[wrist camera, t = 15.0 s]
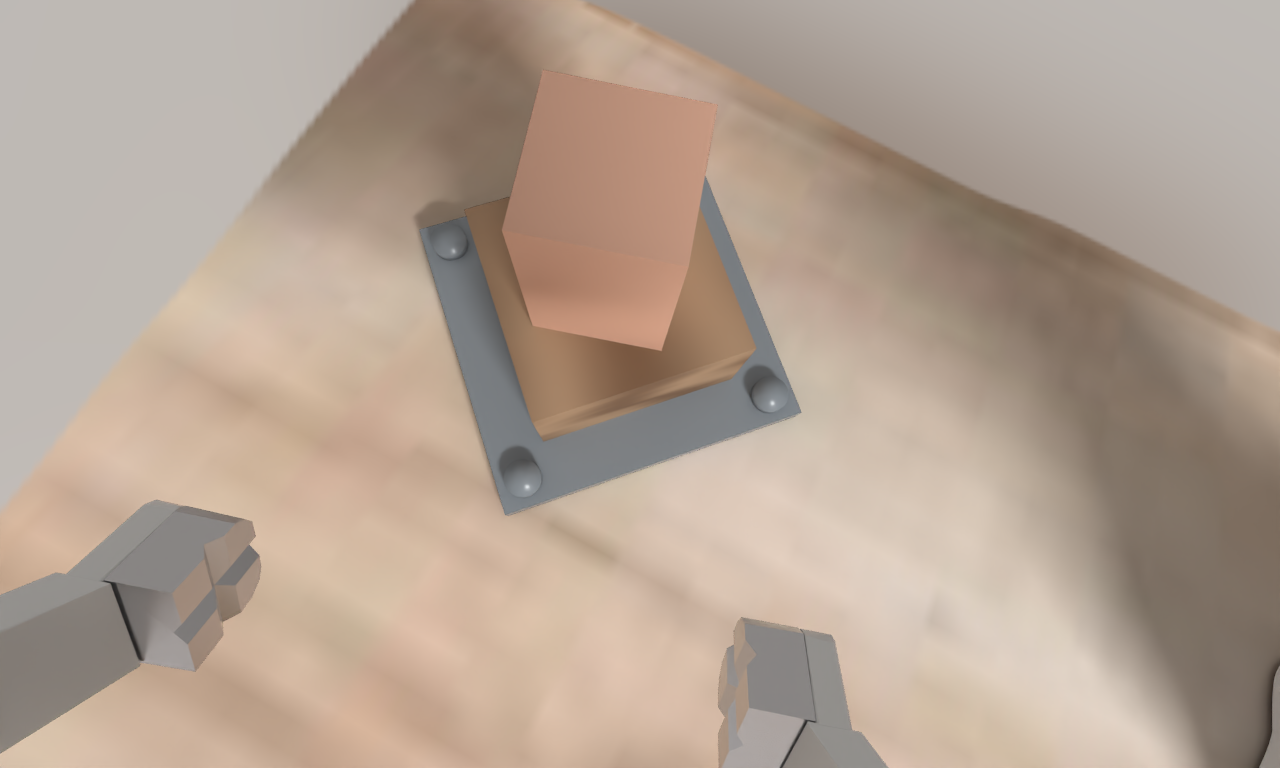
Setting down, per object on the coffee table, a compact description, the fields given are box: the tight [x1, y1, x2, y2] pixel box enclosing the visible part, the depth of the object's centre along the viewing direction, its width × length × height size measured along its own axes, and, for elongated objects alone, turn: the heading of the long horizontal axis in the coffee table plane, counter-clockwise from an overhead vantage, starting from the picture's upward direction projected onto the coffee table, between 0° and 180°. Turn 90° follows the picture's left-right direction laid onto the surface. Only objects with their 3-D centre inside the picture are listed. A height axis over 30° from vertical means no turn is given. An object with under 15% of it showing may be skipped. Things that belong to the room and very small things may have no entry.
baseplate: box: [420, 176, 801, 516], centre depth 31 cm, size 14×14×2 cm
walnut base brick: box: [464, 197, 757, 442], centre depth 28 cm, size 9×9×5 cm
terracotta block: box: [502, 70, 718, 351], centre depth 22 cm, size 5×5×8 cm
